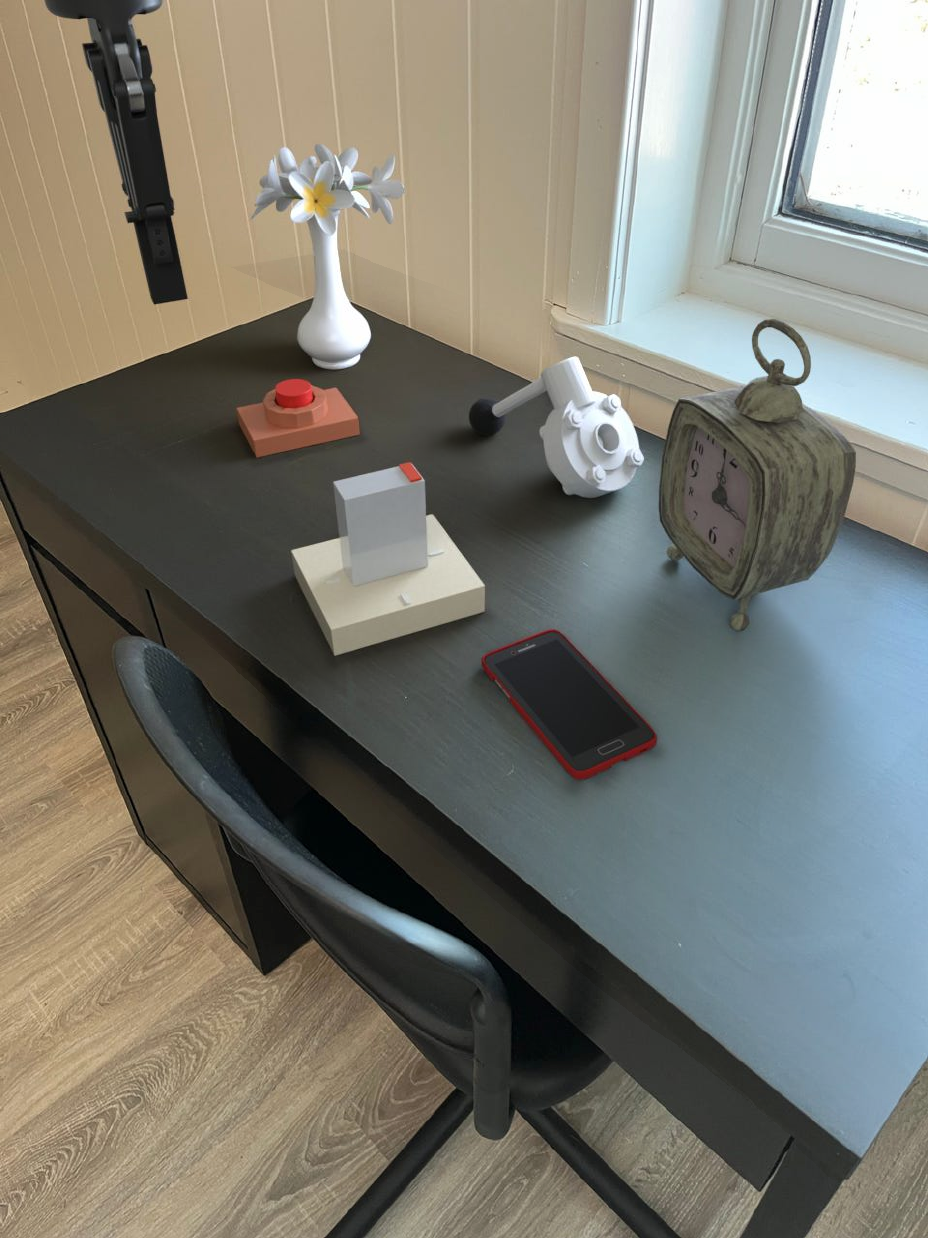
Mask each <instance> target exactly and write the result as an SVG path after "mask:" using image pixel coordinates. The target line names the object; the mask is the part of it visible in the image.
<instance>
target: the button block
mask: <svg viewBox="0 0 928 1238" xmlns="http://www.w3.org/2000/svg"><path fill="white" fill-rule="evenodd" d="M311 388H312V396H313V401H312V403H311V404H309V405H307V406H305V407H300V408H283V407H280V406H279V405H278V404H277V398H276V392H275V388H273V389H272V390H270V391H268V392H267V393H266V394H265V396H264V398H263V400H262V402H259V403H254V404H248V405H245V406H239V407H236V414H237V419H238V425H239V427H240V429H241V431H242V433H243V435H244V437H245V438H246V440H247V442H248V444H249V446H250V448H251V450H252V452H253V454H254V455H255V457H256V458H261V457H266V456H270V455H275V454H279V453H284V452H289V451H292V450H296V449H297V450H298V449H301V448H306V447H311V446H315V445H320V444H324V443H329V442H333V441H337V440H338V441H339V440H341V439H347V438H352V437H355V436H360V434H361V433H360V424H359V417H358V415H357V414H356V413H355V411H354V410H353V409H352V407H351V406H350V404H349V403H348V402H347V400H346V398H344V396H343V394H342V393H341V392H340V391H339V389H338V388H337V387H331V388H327V389H322V388H320V387H317V386H314V385H312V384H311Z"/></svg>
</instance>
